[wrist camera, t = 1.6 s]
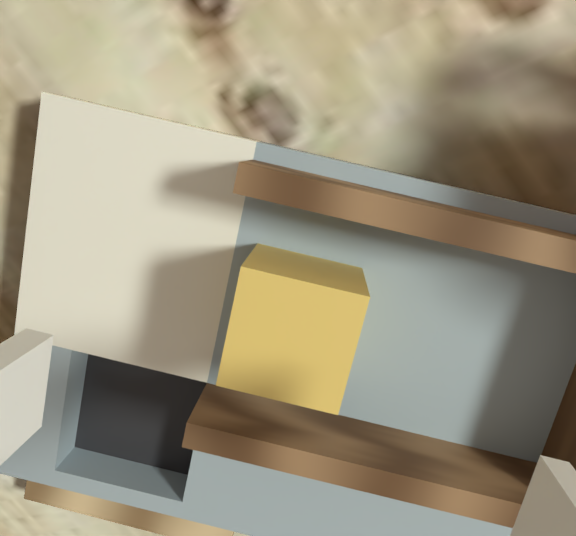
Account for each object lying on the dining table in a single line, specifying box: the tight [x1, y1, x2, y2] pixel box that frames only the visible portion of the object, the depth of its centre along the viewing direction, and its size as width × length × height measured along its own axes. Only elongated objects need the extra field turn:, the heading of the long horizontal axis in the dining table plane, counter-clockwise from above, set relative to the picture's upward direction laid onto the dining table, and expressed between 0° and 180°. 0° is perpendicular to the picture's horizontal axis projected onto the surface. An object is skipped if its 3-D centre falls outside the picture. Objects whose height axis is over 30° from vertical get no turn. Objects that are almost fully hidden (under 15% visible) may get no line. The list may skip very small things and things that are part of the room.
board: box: [0, 92, 576, 536], centre depth 28 cm, size 28×20×2 cm
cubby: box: [182, 160, 576, 528], centre depth 24 cm, size 18×12×4 cm
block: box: [216, 243, 370, 415], centre depth 23 cm, size 5×5×5 cm
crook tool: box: [24, 480, 234, 536], centre depth 32 cm, size 12×5×1 cm, turn 76°
